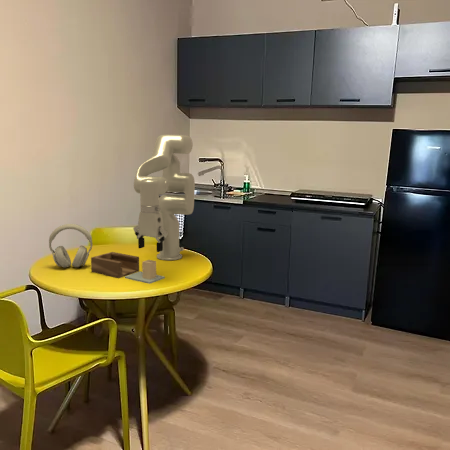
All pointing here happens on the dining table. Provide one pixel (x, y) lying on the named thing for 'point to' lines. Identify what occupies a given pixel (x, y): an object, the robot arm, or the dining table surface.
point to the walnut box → (115, 264)
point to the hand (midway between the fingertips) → (150, 249)
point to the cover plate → (140, 275)
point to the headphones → (61, 253)
